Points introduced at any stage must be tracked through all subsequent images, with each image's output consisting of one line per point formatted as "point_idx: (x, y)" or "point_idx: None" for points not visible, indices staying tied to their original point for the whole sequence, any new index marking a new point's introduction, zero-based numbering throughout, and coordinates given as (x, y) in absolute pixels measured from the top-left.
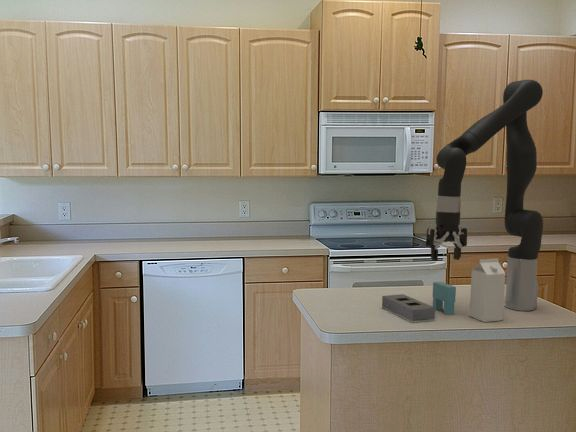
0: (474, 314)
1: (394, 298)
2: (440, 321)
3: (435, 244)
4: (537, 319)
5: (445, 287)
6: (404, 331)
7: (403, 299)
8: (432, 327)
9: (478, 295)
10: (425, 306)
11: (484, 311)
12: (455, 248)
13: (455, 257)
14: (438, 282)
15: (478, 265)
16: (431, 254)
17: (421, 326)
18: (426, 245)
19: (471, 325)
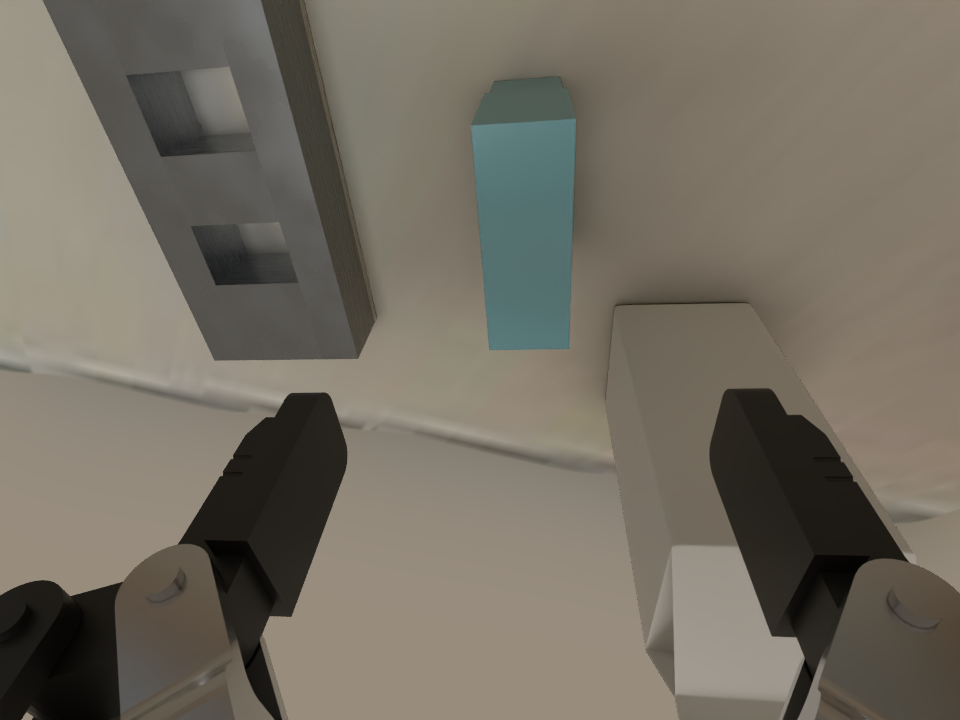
0: (613, 354)
1: (124, 65)
2: (402, 334)
3: (224, 653)
4: (914, 428)
5: (487, 315)
6: (186, 401)
7: (215, 67)
8: (324, 392)
9: (626, 458)
10: (310, 321)
11: (611, 439)
12: (795, 574)
13: (729, 436)
14: (518, 160)
15: (690, 646)
16: (230, 481)
17: (278, 370)
18: (1, 626)
19: (515, 413)
